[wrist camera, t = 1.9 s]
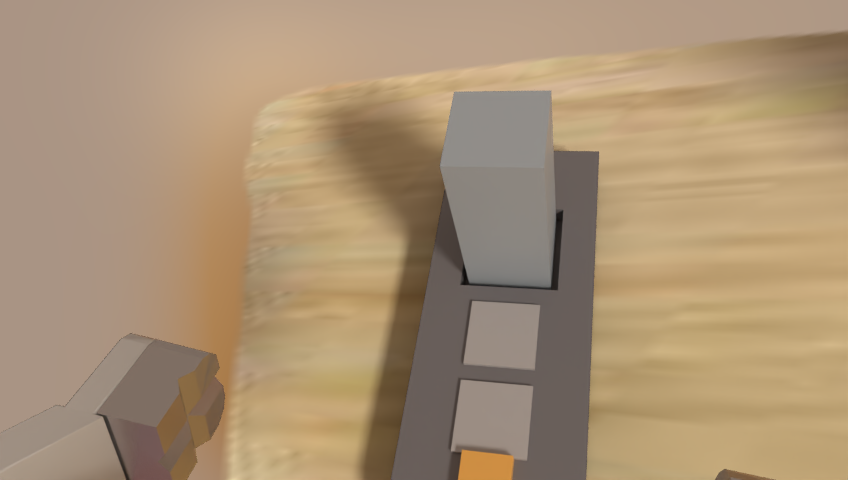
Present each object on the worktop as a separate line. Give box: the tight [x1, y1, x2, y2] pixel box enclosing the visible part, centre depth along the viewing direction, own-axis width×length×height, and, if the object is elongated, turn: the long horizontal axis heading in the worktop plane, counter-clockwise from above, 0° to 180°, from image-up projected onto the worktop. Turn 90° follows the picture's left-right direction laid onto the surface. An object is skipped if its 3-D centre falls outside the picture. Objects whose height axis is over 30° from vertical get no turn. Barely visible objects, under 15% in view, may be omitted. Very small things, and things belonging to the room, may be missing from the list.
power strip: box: [391, 151, 599, 480], centre depth 37 cm, size 9×22×3 cm, turn 171°
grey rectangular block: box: [440, 91, 556, 290], centre depth 35 cm, size 4×4×11 cm
